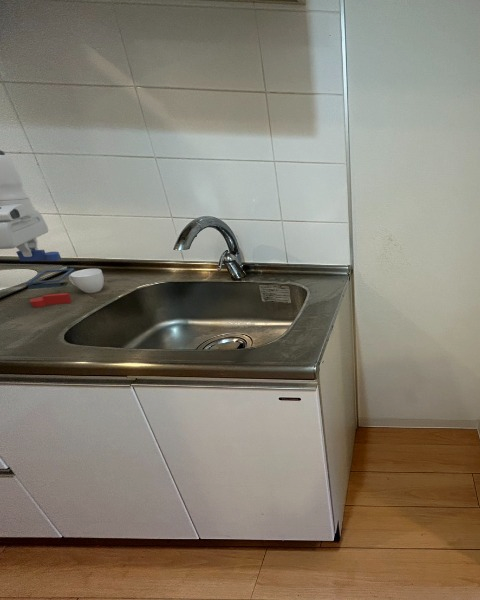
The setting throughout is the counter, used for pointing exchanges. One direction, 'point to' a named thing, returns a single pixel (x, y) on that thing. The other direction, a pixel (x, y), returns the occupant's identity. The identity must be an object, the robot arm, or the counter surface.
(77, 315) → the counter surface
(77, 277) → the cup
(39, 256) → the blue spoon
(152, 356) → the counter surface
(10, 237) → the robot arm
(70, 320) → the counter surface
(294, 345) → the counter surface
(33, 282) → the dark blue open frame
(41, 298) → the red stepped block
